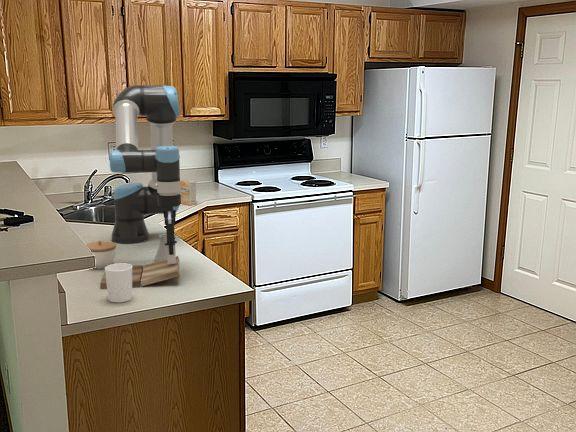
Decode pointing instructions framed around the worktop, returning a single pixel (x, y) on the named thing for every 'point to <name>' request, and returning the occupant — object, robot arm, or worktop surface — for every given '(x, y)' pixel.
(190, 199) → the supplement box
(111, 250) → the lidded jar
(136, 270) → the walnut plank
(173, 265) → the oak plank
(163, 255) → the flask
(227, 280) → the worktop surface
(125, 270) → the white cup
